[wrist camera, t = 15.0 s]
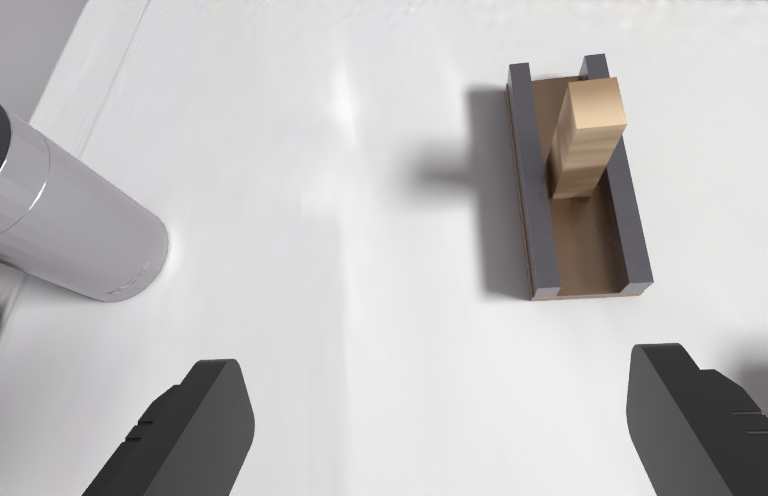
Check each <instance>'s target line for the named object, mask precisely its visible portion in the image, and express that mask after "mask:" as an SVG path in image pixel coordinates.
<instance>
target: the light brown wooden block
mask: <svg viewBox="0 0 768 496" xmlns="http://www.w3.org/2000/svg"><path fill="white" fill-rule="evenodd" d="M626 125H627V121H626V117H625V112H624V108H623V103H622V99H621V94H620V90H619V85H618V81H617V77H613V78H604V79H595V80H586V81H577V82H568V86H567V89H566V93H565V97H564V100H563V104H562V107H561V111H560V115H559V118H558V122H557V125H556V129H555V133H554V136H553V140H552V143H551V147H550V151H549V154H548V158H547V166H548V173H549V180H550V187H551V193H552V199H564V198H577V197H589V196H591V195H592V193H593V191H594V189H595V187H596V185H597V183H598V181H599V179H600V177H601V175H602V173H603V171H604V169H605V167H606V165H607V163H608V161H609V159H610V157H611V155H612V153H613V151H614V149H615V147H616V145H617V143H618V141H619V139H620V137H621V135H622V133H623V131H624V129H625V127H626Z"/></svg>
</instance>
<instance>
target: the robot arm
mask: <svg viewBox="0 0 768 496" xmlns="http://www.w3.org/2000/svg"><path fill="white" fill-rule="evenodd" d="M167 252H168V236H167V232H166V229H165V227H164V225H163V223H162V222H161V221H160V219H159V218H158V217H156V216H155V215H154V214H153V213H151V212H150V211H148V210H147V209H146V208H144V207H143V206H142V205H140V204H139V203H137V202H136V201H135V200H133V199H132V198H131V197H129V196H128V195H127V194H125V193H124V192H122V191H121V190H120V189H118V188H117V187H115V186H114V185H113V184H111V183H110V182H109V181H107V180H106V179H104V178H103V177H102V176H100V175H99V174H97V173H96V172H95V171H93V170H92V169H90V168H89V167H88V166H86V165H85V164H83V163H82V162H81V161H79V160H78V159H77V158H75V157H74V156H72V155H71V154H70V153H68V152H67V151H65V150H64V149H63V148H61V147H60V146H58V145H57V144H56V143H54V142H53V141H51V140H50V139H49V138H47V137H46V136H45V135H43V134H42V133H40V132H39V131H37V130H36V129H34V128H33V127H32V126H30V125H29V124H27V123H26V122H25V121H23V120H22V119H20V118H19V117H18V116H16V115H15V114H13V113H12V112H11V111H9V110H8V109H7V108H5V107H4V106H2V105H1V104H0V263H2V264H4V265H7V266H9V267H12V268H15V269H17V270H20V271H23V272H25V273H28V274H30V275H33V276H36V277H38V278H41V279H44V280H46V281H49V282H51V283H54V284H57V285H59V286H62V287H64V288H67V289H69V290H72V291H75V292H77V293H80V294H83V295H85V296H88V297H91V298H93V299H96V300H100V301H104V302H117V301H121V300H126V299H128V298H130V297H132V296H135V295H136V294H138V293H139V292H141V291H142V290H144V289H145V288H146V287H147V286H148V285H149V284H150V283H151V282H152V281H153V280H154V279H155V278H156V276H157V275H158V273H159V272H160V270H161V268H162V266H163V264H164V262H165V259H166V256H167ZM626 415H627V423H628V429H629V433H630V436H631V439H632V442H633V444H634V446H635V448H636V451H637V453H638V455H639V457H640V459H641V462H642V464H643V466H644V468H645V470H646V472H647V475H648V477H649V479H650V481H651V483H652V486H653V488H654V490H655V492H656V494H657V496H768V418H767V417H766V416H765V415H762V413H761V410H760V408H759V407H758V406H757V405H756V404H755V402H754V401H753V400H752V399H751V398H750V396H749V395H748V394H747V393H746V391H745V390H744V389H743V388H742V387H740V386H739V385H737V384H736V383H734V382H733V381H731V380H730V379H728V378H727V377H725V376H724V375H722V374H721V373H719V372H718V371H716V370H715V369H711V370H700V369H699V367H698V366H697V365H696V363H695V362H694V361H693V359H692V358H691V357H690V355H689V354H688V353H687V351H686V350H685V349H684V347H683V346H682V345H680V344H679V343H664V344H638V345H634V347H633V349H632V353H631V362H630V373H629V383H628V394H627V405H626ZM254 429H255V420H254V414H253V410H252V407H251V403H250V400H249V396H248V393H247V389H246V386H245V382H244V379H243V375H242V372H241V368H240V365H239V363H238V362H237V361H236V360H235V359H217V360H200V361H198V362H196V363H195V364H194V366H193V367H192V369H191V370H190V371H189V373H188V374H187V375H186V377H185V378H184V380H183V381H182V382H181V384H180V385H174V386H172V387H171V388H170V389H168V390H167V391H166V392H165V393H163V394H162V395H161V396H159V397H158V398H157V399H156V400H154V401H153V402H152V403H151V405H150V406H149V407H148V409H147V410H146V411H145V413H144V414H143V415H142V417H141V418H140V419H139V420H138V425H135V426H134V427H133V428H132V430H131V431H130V432H129V434H128V435H127V436H126V438H125V442H122V443H121V444H120V446H119V447H118V448H117V450H116V451H115V452H114V453H113V455H112V456H111V457H110V459H109V460H108V461H107V463H106V464H105V465H104V467H103V468H102V469H101V471H100V472H99V473H98V475H97V476H96V477H95V479H94V480H93V481H92V483H91V484H90V485H89V486H88V488H87V489H86V490H85V492H84V493H83V494H82V496H229V494H230V492H231V489H232V487H233V485H234V483H235V480H236V478H237V476H238V474H239V471H240V469H241V467H242V465H243V462H244V460H245V458H246V456H247V453H248V451H249V449H250V447H251V444H252V441H253V437H254Z"/></svg>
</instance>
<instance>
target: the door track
mask: <svg viewBox="0 0 768 496" xmlns="http://www.w3.org/2000/svg"><path fill="white" fill-rule="evenodd" d="M604 78H610V76H609V72H608V67H607V62H606V58H605V54H596V55H588V56H584V60H583V63H582V66H581V70H580V73H579V76H572V77H563V78H554V79H545V80H536V81H531V76H530V69H529V62H528V63H519V64H511V65H509V73H508V82H507V84H506V90H505V91H506V100H507V108H508V116H509V124H510V133H511V141H512V149H513V157H514V166H515V174H516V182H517V190H518V199H519V207H520V215H521V223H522V231H523V240H524V248H525V256H526V264H527V273H528V281H529V289H530V297H531V301H541V300H561V299H580V298H600V297H619V296H639V295H641V294H642V293H643V292H644V290H645V289H646V288H648V287H649V286H650V285H651V284H652V283H653V282H654V280H653V276H652V271H651V267H650V262H649V257H648V253H647V248H646V243H645V239H644V234H643V229H642V225H641V220H640V215H639V211H638V206H637V202H636V197H635V192H634V188H633V183H632V178H631V174H630V169H629V164H628V160H627V155H626V150H625V146H624V141H623V137H622V135H621V137H620V139H619V141H618V143H617V145H616V147H615V149H614V151H613V153H612V155H611V157H610V159H609V161H608V163H607V165H606V167H605V169H604V171H603V173H602V175H601V177H600V179H599V181H598V183H597V185H596V187H595V189H594V191H593V193H592V195H591V196H589V197H577V198H564V199H552V193H551V187H550V180H549V173H548V166H547V158H548V154H549V151H550V147H551V143H552V140H553V136H554V133H555V129H556V125H557V122H558V118H559V115H560V111H561V107H562V104H563V100H564V97H565V93H566V89H567V86H568V82H577V81H586V80H595V79H604Z"/></svg>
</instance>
